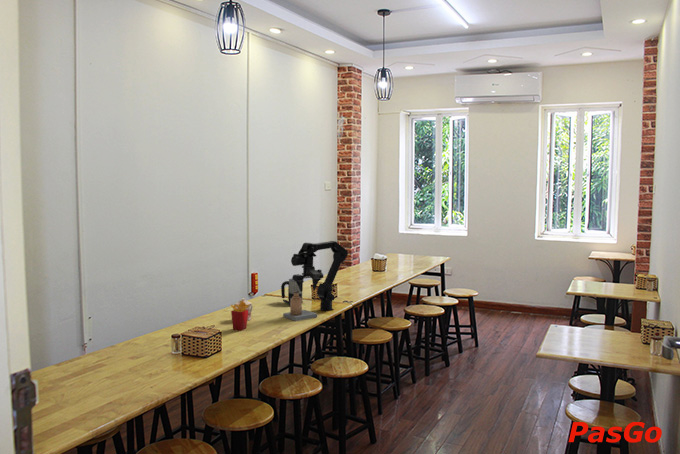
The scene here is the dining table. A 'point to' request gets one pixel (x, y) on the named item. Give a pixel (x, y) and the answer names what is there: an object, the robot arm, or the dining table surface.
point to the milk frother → (290, 290)
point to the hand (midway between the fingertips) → (307, 291)
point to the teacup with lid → (246, 308)
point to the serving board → (304, 315)
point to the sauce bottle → (296, 304)
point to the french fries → (240, 316)
